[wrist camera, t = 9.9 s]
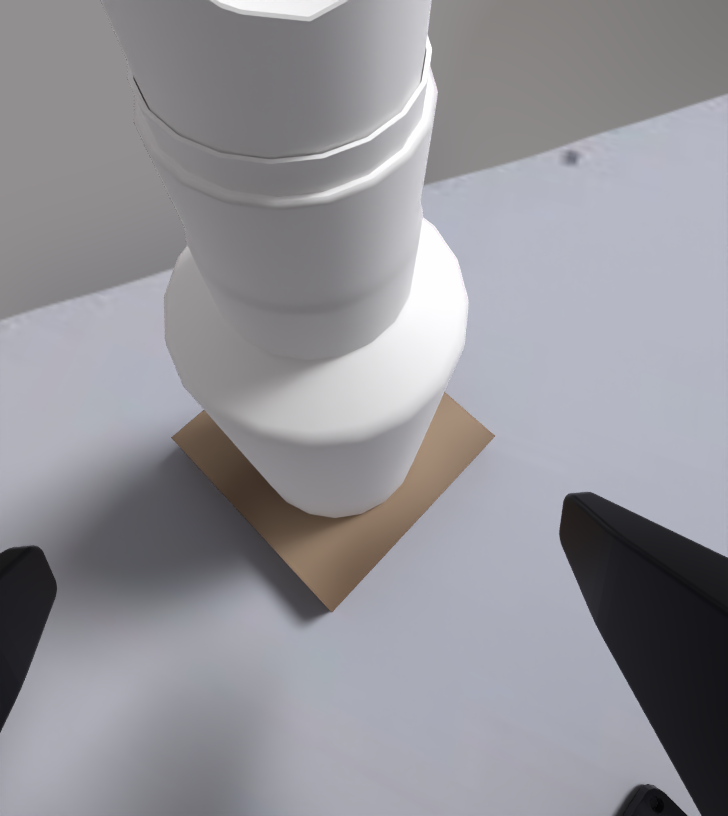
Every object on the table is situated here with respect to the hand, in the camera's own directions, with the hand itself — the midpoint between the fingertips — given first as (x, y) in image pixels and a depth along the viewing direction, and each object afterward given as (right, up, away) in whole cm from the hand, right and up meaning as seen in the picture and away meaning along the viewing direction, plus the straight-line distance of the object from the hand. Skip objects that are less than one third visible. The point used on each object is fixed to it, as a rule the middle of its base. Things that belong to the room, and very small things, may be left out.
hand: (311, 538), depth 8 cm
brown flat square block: (0, 0, +15) cm, 15 cm away
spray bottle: (0, +1, +13) cm, 13 cm away
